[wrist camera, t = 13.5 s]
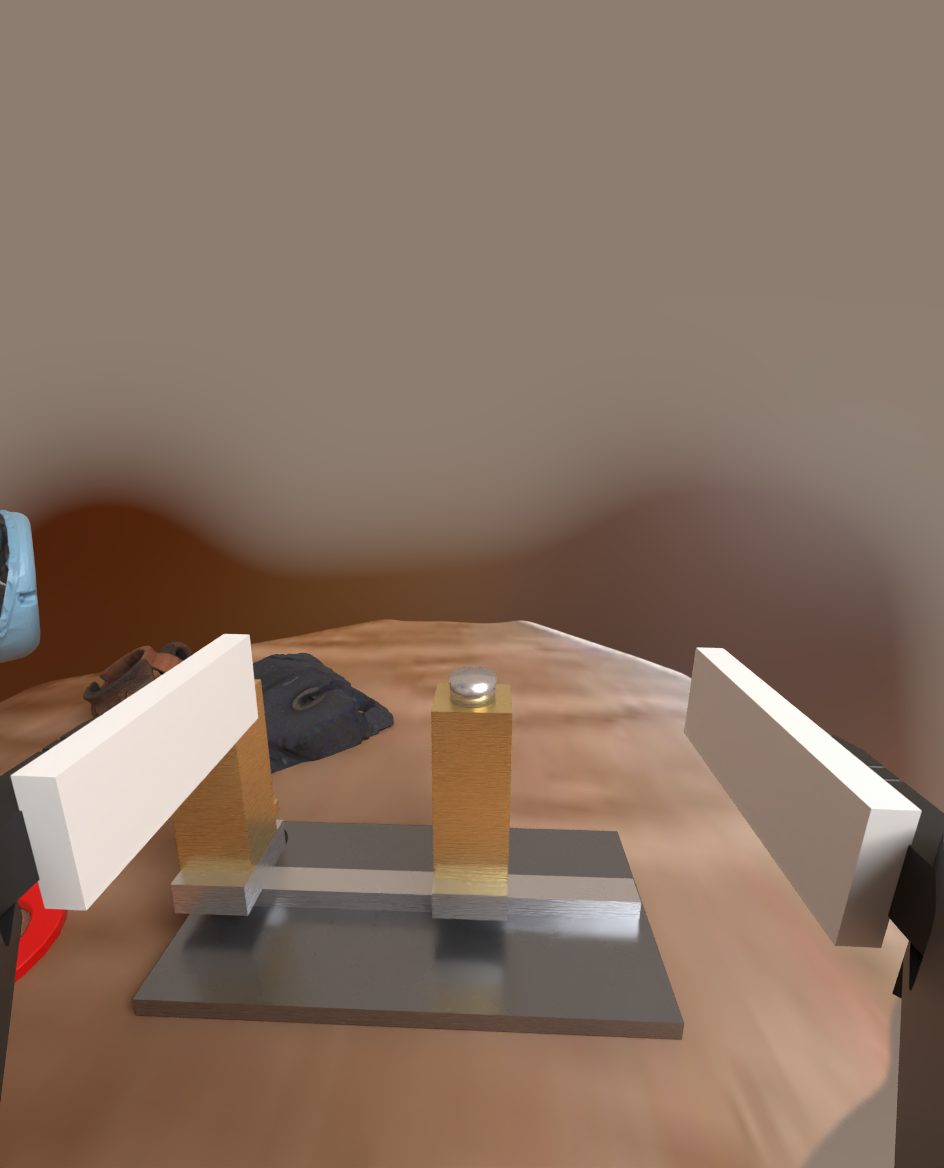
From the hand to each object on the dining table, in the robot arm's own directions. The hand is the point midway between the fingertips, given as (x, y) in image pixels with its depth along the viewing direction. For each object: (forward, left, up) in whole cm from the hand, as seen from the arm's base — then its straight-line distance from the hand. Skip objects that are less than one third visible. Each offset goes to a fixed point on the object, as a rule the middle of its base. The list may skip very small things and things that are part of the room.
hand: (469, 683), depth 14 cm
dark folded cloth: (-39, -5, -20) cm, 45 cm away
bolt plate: (-10, +1, -20) cm, 22 cm away
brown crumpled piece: (-45, -18, -20) cm, 52 cm away
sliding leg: (-10, +4, -18) cm, 21 cm away
